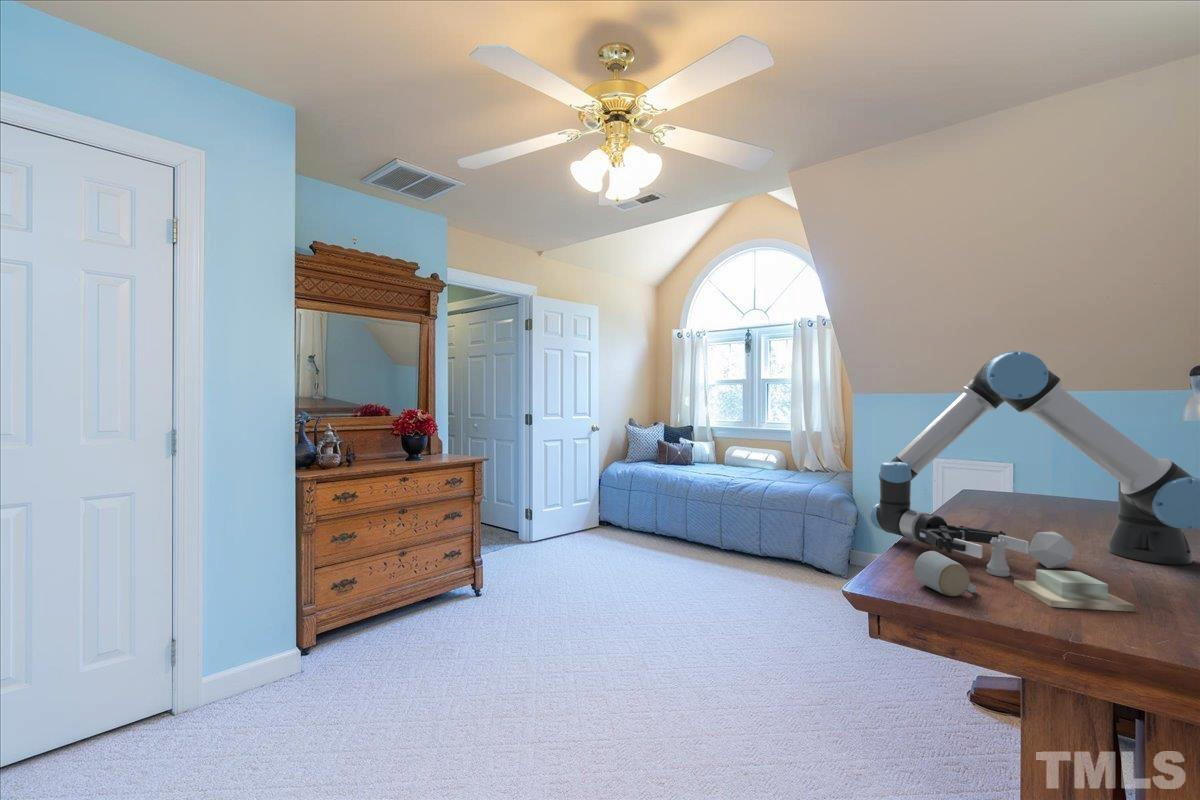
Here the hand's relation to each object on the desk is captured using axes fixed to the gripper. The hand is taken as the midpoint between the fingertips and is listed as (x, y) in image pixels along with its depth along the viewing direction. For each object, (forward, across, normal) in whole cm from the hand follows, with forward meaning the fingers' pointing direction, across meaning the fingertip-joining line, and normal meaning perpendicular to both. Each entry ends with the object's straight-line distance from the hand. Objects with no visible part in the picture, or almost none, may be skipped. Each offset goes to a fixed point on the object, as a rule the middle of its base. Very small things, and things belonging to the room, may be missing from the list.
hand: (1004, 549), depth 125 cm
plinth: (+14, 0, -6) cm, 15 cm away
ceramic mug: (+4, +20, -6) cm, 22 cm away
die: (-3, -18, -6) cm, 20 cm away
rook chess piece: (-2, 0, -6) cm, 6 cm away
